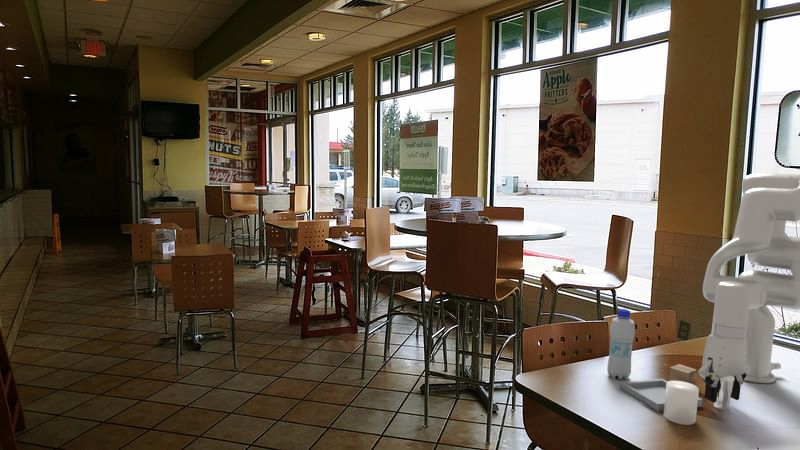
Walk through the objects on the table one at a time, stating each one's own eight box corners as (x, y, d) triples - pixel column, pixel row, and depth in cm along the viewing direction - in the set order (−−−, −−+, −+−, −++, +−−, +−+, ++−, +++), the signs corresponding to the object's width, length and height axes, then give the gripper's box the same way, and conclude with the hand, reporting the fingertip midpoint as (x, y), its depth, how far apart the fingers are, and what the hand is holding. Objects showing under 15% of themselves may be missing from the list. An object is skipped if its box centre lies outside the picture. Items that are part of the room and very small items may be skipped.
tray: (661, 385, 155) (662, 378, 155) (702, 406, 142) (702, 399, 142) (619, 389, 151) (620, 382, 151) (657, 411, 138) (657, 404, 138)
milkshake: (729, 404, 144) (733, 367, 143) (732, 412, 139) (736, 374, 138) (709, 401, 146) (713, 364, 145) (711, 408, 141) (715, 370, 140)
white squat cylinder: (679, 410, 139) (682, 379, 139) (702, 423, 133) (705, 390, 132) (656, 413, 137) (659, 381, 137) (678, 426, 131) (681, 393, 130)
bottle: (633, 382, 157) (639, 313, 155) (608, 379, 158) (613, 310, 156) (628, 374, 163) (634, 307, 161) (604, 371, 165) (609, 305, 162)
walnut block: (677, 381, 160) (678, 364, 159) (695, 386, 156) (696, 369, 155) (668, 384, 157) (670, 367, 156) (686, 390, 153) (688, 373, 152)
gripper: (742, 325, 147) (735, 390, 149) (689, 328, 142) (682, 396, 143) (768, 333, 140) (760, 402, 141) (714, 337, 134) (706, 408, 136)
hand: (721, 398), depth 142 cm, fingers open, 6 cm apart
